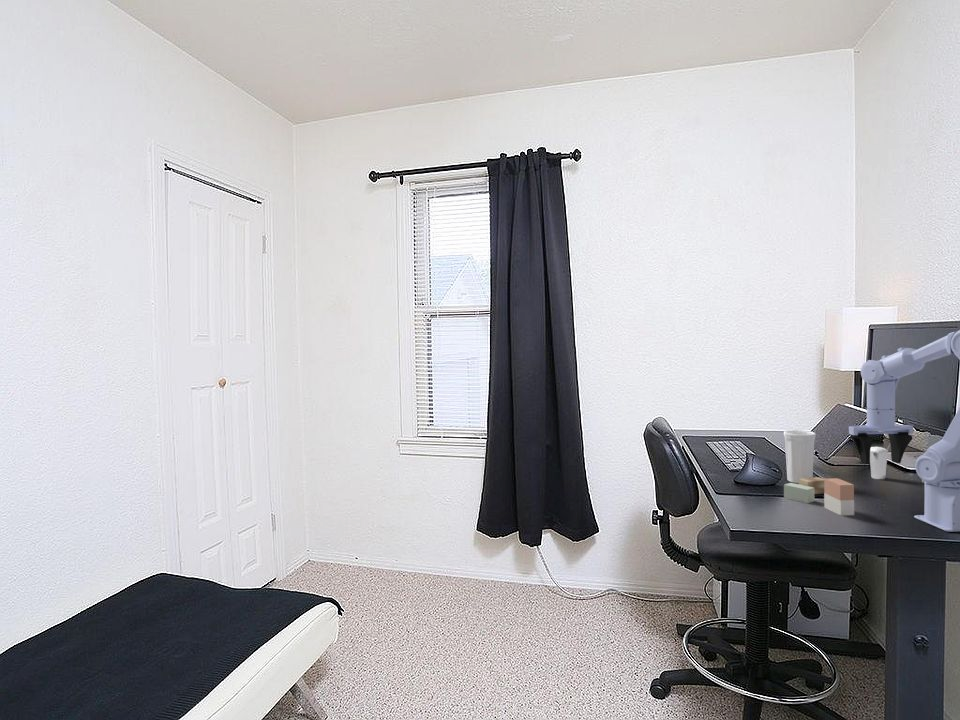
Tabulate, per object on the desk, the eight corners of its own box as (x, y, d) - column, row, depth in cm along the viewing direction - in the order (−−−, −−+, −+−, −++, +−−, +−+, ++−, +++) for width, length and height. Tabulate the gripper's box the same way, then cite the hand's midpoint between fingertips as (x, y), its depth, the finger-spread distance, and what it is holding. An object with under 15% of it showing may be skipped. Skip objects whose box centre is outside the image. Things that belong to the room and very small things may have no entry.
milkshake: (894, 480, 158) (894, 445, 158) (873, 480, 159) (873, 445, 159) (886, 476, 163) (886, 442, 162) (865, 475, 164) (865, 442, 163)
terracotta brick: (853, 500, 130) (853, 484, 130) (840, 500, 130) (840, 485, 130) (837, 492, 136) (837, 478, 136) (824, 493, 136) (824, 478, 136)
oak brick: (817, 490, 152) (817, 477, 151) (827, 493, 148) (827, 480, 148) (798, 492, 150) (798, 478, 150) (807, 495, 147) (807, 481, 147)
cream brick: (854, 515, 130) (854, 500, 130) (840, 515, 130) (840, 500, 130) (837, 507, 136) (837, 492, 136) (824, 507, 136) (824, 493, 136)
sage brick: (814, 501, 142) (814, 487, 142) (807, 503, 140) (807, 489, 140) (790, 496, 147) (790, 482, 147) (784, 498, 145) (783, 484, 145)
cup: (786, 485, 157) (786, 434, 156) (781, 477, 164) (780, 429, 164) (819, 486, 154) (819, 435, 154) (812, 479, 162) (812, 430, 161)
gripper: (898, 405, 142) (898, 458, 143) (841, 407, 142) (841, 460, 143) (919, 409, 135) (919, 464, 136) (859, 411, 135) (859, 466, 136)
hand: (880, 462), depth 139 cm, fingers open, 7 cm apart
